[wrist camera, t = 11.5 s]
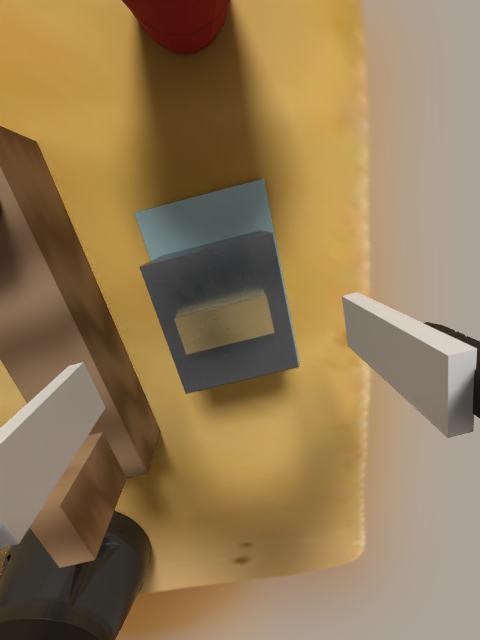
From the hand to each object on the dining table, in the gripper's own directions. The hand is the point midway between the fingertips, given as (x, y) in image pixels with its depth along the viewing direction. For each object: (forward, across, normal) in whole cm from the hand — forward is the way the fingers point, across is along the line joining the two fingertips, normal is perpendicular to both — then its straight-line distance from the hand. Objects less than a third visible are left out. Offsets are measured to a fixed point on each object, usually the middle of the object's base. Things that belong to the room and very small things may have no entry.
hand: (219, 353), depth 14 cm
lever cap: (+10, -1, 0) cm, 10 cm away
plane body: (+11, +12, -1) cm, 16 cm away
